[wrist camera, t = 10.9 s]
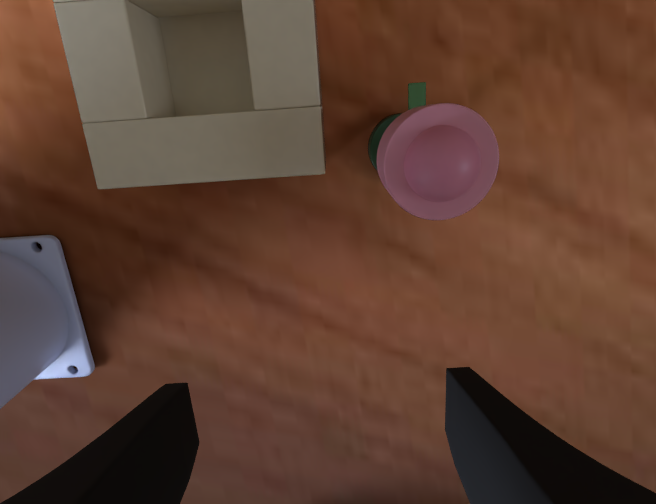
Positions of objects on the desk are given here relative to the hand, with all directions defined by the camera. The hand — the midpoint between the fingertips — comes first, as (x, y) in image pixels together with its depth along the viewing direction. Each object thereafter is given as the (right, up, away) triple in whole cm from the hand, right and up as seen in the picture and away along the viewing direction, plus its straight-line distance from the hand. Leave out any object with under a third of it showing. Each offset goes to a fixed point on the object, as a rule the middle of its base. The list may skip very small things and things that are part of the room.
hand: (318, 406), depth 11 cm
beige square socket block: (-5, +12, +7) cm, 15 cm away
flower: (+4, +9, +8) cm, 13 cm away
